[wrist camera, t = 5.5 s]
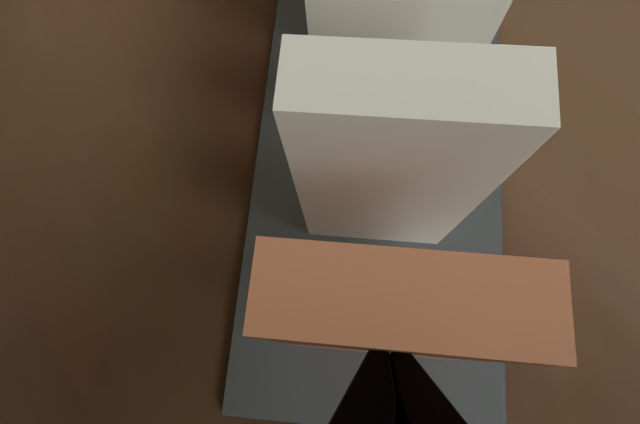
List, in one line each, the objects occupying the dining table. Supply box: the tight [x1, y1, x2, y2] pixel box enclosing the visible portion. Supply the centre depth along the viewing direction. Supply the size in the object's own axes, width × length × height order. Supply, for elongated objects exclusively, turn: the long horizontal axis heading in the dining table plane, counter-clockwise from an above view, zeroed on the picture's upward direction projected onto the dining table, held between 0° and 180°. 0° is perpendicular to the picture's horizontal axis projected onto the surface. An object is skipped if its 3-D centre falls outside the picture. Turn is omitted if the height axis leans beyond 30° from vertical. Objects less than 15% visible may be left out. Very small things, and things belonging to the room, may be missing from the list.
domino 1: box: [305, 0, 513, 44], centre depth 14 cm, size 2×5×10 cm, turn 85°
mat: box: [222, 0, 506, 424], centre depth 19 cm, size 23×10×1 cm, turn 175°
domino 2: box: [272, 34, 561, 244], centre depth 13 cm, size 2×5×10 cm, turn 85°
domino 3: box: [243, 236, 577, 367], centre depth 12 cm, size 2×5×10 cm, turn 85°
